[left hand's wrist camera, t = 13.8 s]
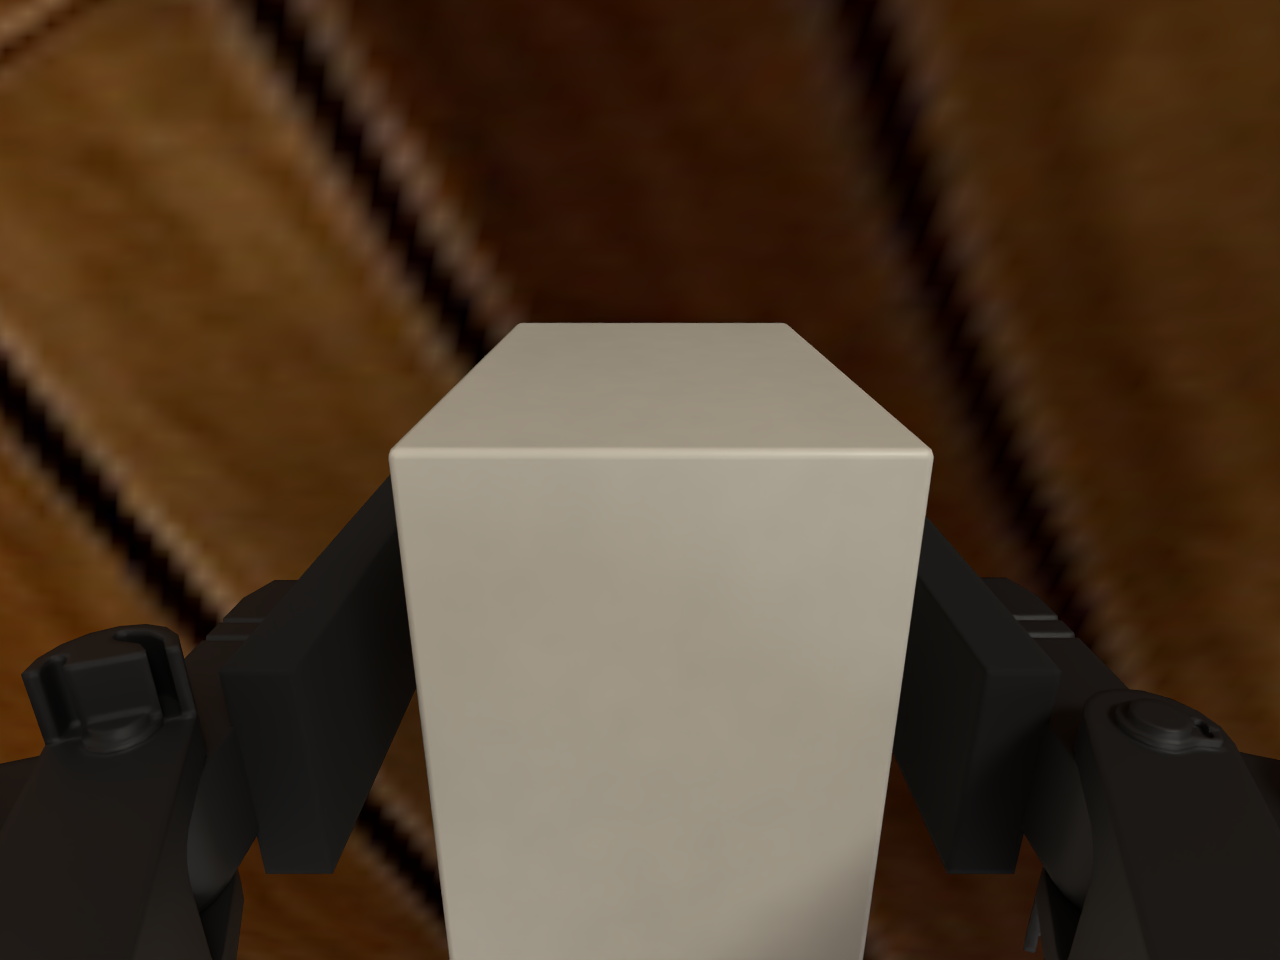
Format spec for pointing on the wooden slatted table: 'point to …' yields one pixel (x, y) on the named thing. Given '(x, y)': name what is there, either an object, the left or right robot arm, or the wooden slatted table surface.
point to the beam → (658, 641)
